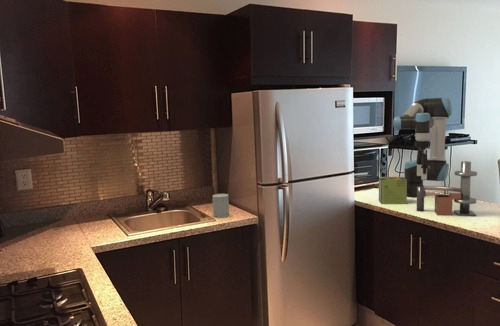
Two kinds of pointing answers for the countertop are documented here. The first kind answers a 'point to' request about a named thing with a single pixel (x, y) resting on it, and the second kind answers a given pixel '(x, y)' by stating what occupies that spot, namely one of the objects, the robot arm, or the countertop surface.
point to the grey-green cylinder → (220, 205)
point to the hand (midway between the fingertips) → (421, 177)
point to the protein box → (393, 190)
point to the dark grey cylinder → (420, 198)
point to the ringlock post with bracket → (458, 195)
